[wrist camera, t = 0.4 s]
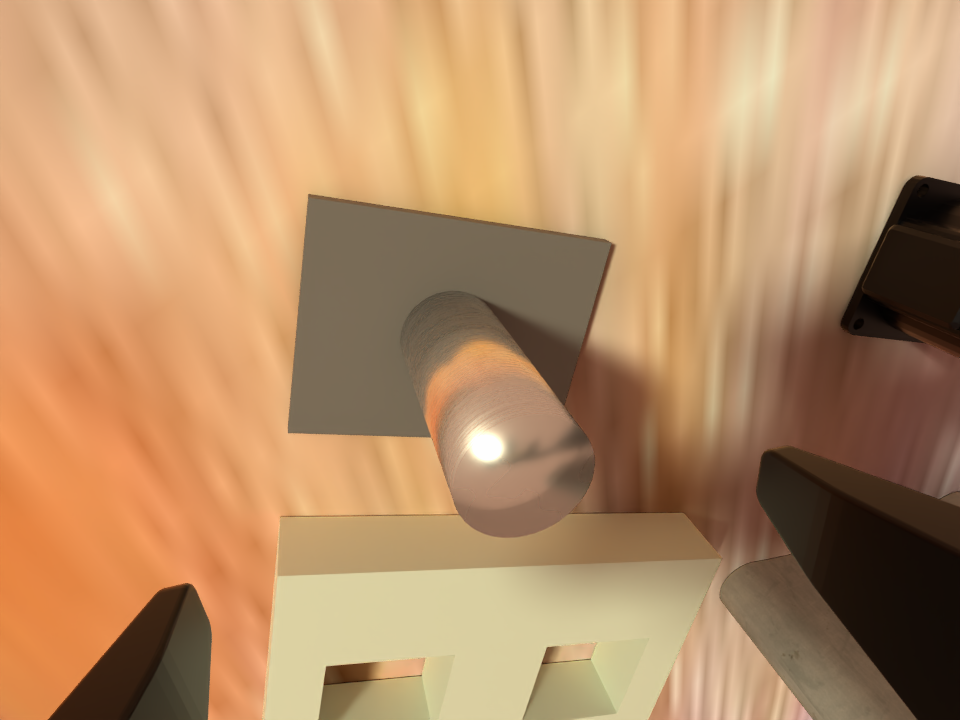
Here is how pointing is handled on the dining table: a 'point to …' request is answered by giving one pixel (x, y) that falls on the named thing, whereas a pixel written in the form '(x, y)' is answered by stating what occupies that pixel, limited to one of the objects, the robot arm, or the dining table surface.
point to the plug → (493, 419)
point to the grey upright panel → (810, 642)
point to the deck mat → (404, 284)
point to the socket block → (482, 615)
